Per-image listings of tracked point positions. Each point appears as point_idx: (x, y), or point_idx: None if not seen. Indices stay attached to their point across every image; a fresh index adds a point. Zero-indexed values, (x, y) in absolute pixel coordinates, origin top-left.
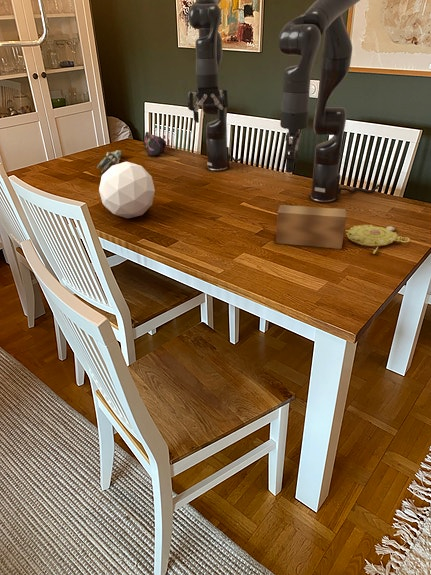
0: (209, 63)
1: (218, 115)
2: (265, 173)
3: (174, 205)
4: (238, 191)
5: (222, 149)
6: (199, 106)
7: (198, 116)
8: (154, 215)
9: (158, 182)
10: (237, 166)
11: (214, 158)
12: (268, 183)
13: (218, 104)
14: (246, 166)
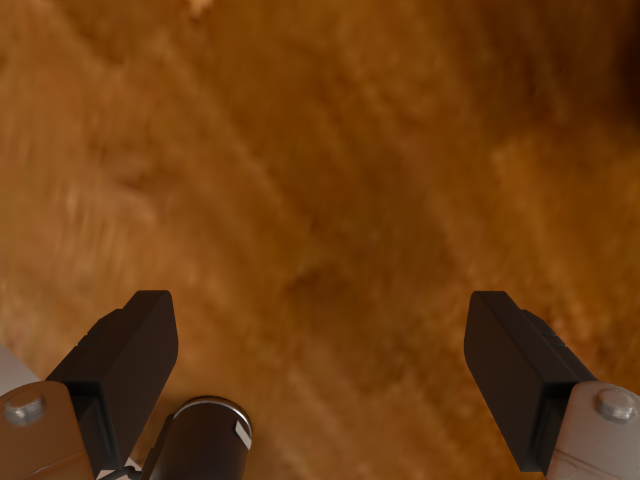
0: None
1: (152, 364)
2: (29, 319)
3: (505, 93)
4: (188, 157)
5: (170, 471)
6: (578, 466)
7: (509, 332)
8: (631, 2)
9: None
10: None
11: (219, 443)
12: (35, 204)
13: (48, 468)
14: None
